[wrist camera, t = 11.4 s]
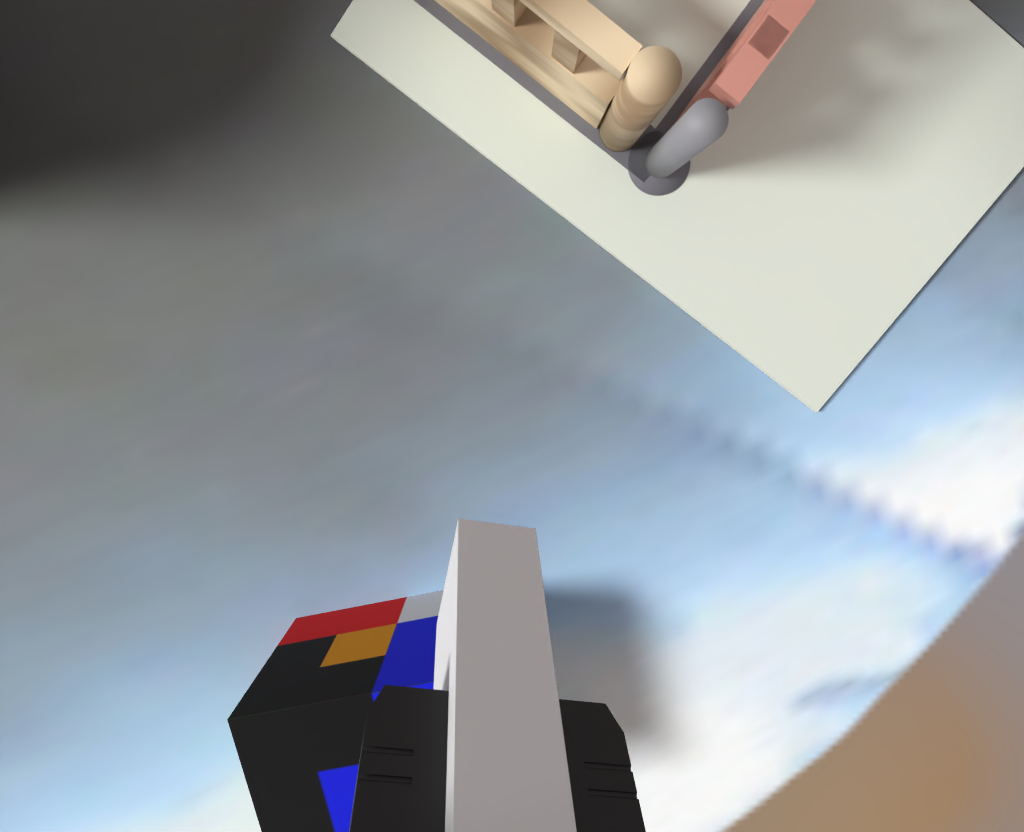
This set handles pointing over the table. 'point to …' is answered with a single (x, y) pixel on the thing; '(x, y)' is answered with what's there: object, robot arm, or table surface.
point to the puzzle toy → (327, 707)
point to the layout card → (754, 160)
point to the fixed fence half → (579, 60)
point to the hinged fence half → (726, 85)
